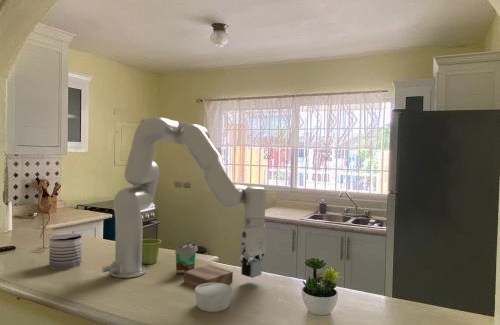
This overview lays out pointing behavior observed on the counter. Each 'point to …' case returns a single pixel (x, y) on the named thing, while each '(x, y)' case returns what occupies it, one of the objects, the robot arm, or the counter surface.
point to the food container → (185, 257)
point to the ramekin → (213, 296)
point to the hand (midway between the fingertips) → (251, 273)
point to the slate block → (254, 267)
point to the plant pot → (150, 250)
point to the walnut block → (207, 275)
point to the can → (65, 251)
